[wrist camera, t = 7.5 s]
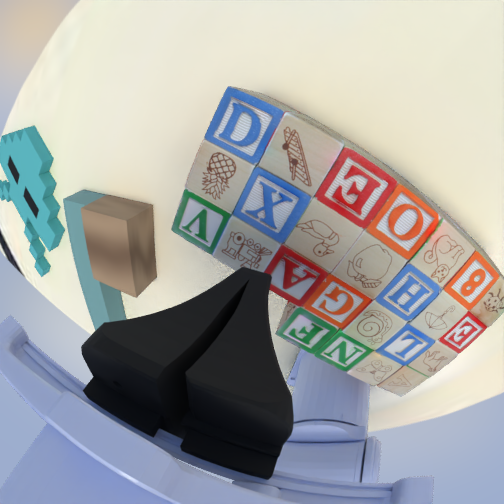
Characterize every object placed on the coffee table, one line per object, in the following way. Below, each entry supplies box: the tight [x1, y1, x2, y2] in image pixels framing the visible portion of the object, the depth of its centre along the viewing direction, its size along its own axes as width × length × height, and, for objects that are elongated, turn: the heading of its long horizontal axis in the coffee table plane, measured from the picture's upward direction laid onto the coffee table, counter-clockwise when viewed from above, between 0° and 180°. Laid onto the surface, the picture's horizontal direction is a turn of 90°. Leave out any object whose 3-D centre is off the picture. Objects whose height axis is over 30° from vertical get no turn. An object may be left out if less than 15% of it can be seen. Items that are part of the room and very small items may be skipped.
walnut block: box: [81, 195, 157, 298], centre depth 24 cm, size 8×6×4 cm
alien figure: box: [0, 126, 65, 277], centre depth 28 cm, size 20×2×20 cm
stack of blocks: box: [171, 86, 504, 396], centre depth 17 cm, size 21×6×12 cm
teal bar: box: [63, 190, 126, 330], centre depth 29 cm, size 22×4×3 cm, turn 172°
